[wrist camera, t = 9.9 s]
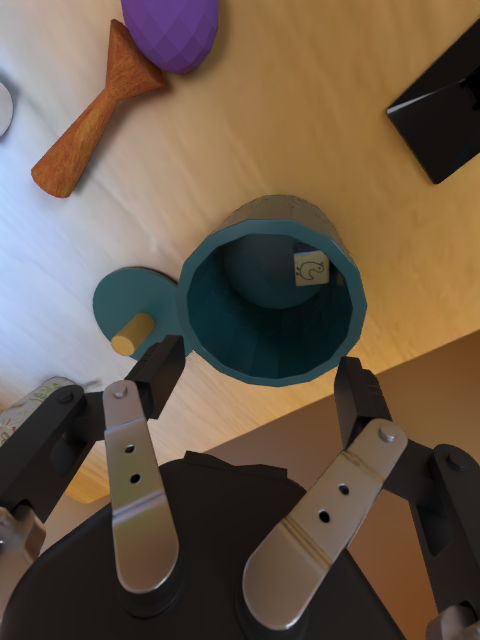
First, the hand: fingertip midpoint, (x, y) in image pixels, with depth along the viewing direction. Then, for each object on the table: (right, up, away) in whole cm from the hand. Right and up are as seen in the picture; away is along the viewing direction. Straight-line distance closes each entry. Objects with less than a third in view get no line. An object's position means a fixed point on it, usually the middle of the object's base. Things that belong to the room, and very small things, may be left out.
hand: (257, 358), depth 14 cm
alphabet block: (+4, +7, +11) cm, 14 cm away
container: (+3, +8, +13) cm, 16 cm away
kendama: (-10, +20, +9) cm, 24 cm away
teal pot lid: (-12, +2, +19) cm, 23 cm away
